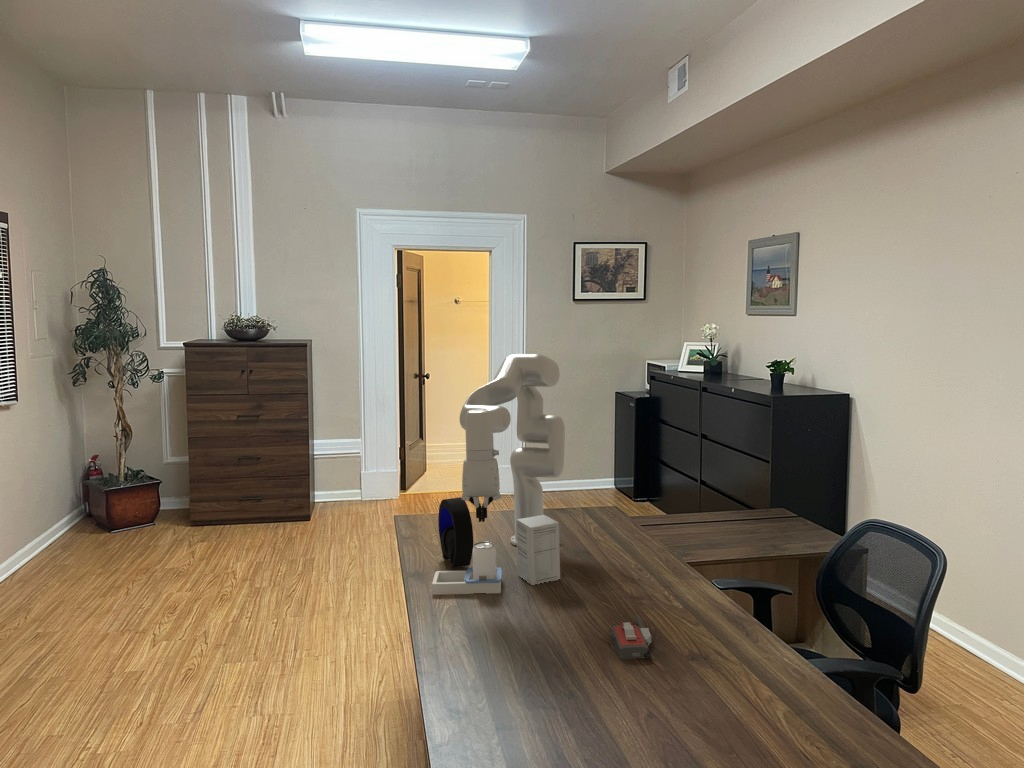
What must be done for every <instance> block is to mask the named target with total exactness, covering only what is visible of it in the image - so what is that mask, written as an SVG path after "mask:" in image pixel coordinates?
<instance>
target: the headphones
mask: <svg viewBox="0 0 1024 768" xmlns="http://www.w3.org/2000/svg"><path fill="white" fill-rule="evenodd" d="M437 518H438V519H437V520H438V521H437V523H438V535H439V541H440V548H441V554H442V558H443V559H444V561H448V560H449V561H450V562H451V569H455V568H462V567H467V566H468V567H469V566H471V562H472V559H473V548H474V528H473V523H472V521H473V520H472V517H471V513H470V509H469V506H468V504H467V501H465V500H462V496H461V497H454V498H453V497H452V498H446V499H445V498H444V499H442V500H441V501H440V503H439V506H438V516H437Z"/></svg>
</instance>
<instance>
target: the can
mask: <svg viewBox="0 0 1024 768" xmlns="http://www.w3.org/2000/svg"><path fill="white" fill-rule="evenodd" d="M496 549H497V548H496V547H495V544H494V542H490V541H479V542H476V543H475V542H474V543H473V552H472V568H473V580H477V579H479V576H487V579H497V576H496V568H497V551H496Z"/></svg>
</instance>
